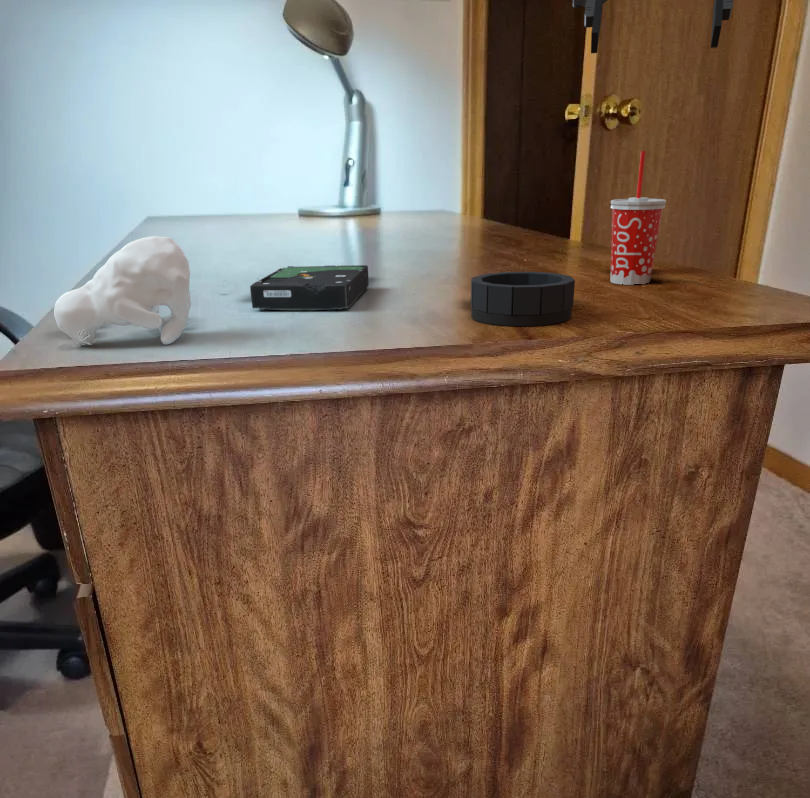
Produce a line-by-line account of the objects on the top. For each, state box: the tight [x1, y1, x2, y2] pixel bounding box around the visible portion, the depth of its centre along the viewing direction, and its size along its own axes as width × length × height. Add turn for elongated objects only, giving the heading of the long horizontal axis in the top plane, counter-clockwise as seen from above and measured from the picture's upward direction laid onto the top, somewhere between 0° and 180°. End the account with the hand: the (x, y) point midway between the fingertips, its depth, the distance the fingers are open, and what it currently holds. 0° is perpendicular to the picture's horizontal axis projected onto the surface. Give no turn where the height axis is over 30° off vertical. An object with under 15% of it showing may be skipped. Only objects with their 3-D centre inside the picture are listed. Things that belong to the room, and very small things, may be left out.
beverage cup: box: [609, 150, 667, 286], centre depth 91 cm, size 6×6×14 cm
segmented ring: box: [470, 271, 576, 327], centre depth 76 cm, size 10×10×4 cm
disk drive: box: [249, 264, 370, 311], centre depth 87 cm, size 10×3×15 cm
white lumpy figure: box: [53, 235, 192, 346], centre depth 68 cm, size 6×8×12 cm
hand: (654, 40), depth 92 cm, fingers open, 13 cm apart
